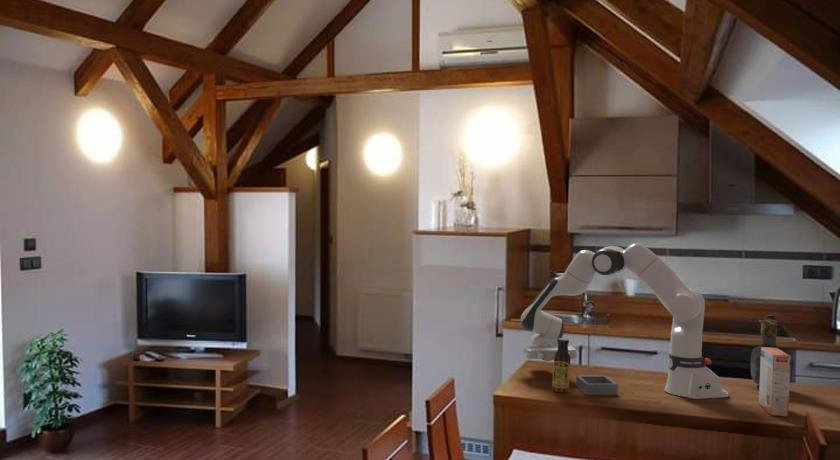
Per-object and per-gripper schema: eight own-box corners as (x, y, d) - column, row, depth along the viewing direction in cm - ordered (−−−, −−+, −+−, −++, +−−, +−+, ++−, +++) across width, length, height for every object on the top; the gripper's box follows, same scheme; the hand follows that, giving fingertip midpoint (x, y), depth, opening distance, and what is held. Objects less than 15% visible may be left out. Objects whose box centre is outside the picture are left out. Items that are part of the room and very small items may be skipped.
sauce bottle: (550, 392, 254) (551, 339, 253) (553, 388, 260) (554, 336, 259) (568, 394, 251) (569, 341, 251) (570, 390, 257) (572, 338, 256)
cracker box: (789, 417, 227) (791, 355, 226) (770, 416, 228) (772, 354, 228) (776, 405, 241) (778, 347, 240) (758, 404, 242) (760, 346, 241)
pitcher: (755, 393, 256) (758, 314, 255) (746, 381, 274) (749, 307, 273) (787, 396, 253) (790, 316, 252) (776, 383, 271) (779, 309, 270)
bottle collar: (606, 385, 264) (606, 375, 264) (617, 395, 251) (617, 384, 251) (576, 385, 263) (576, 375, 263) (586, 395, 250) (586, 384, 250)
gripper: (521, 342, 277) (529, 349, 264) (571, 342, 279) (581, 349, 265) (521, 357, 278) (529, 365, 264) (570, 357, 279) (580, 365, 265)
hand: (555, 357), depth 264 cm, fingers open, 8 cm apart
